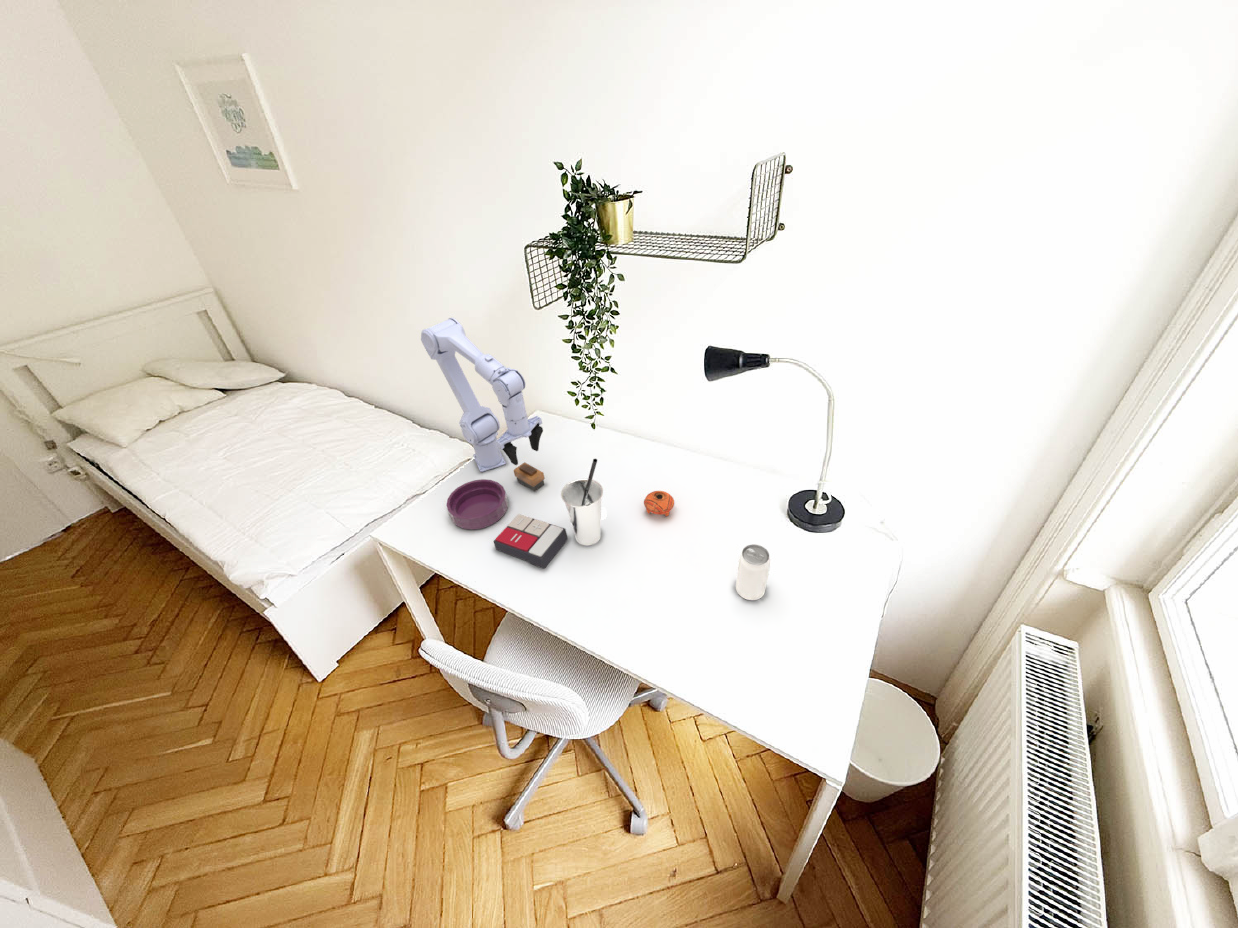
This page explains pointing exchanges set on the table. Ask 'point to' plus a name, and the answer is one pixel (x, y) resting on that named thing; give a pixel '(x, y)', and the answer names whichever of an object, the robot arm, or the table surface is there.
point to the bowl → (477, 504)
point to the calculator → (531, 540)
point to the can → (752, 572)
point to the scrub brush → (529, 476)
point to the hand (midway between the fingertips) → (525, 456)
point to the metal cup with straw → (584, 507)
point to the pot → (659, 503)
